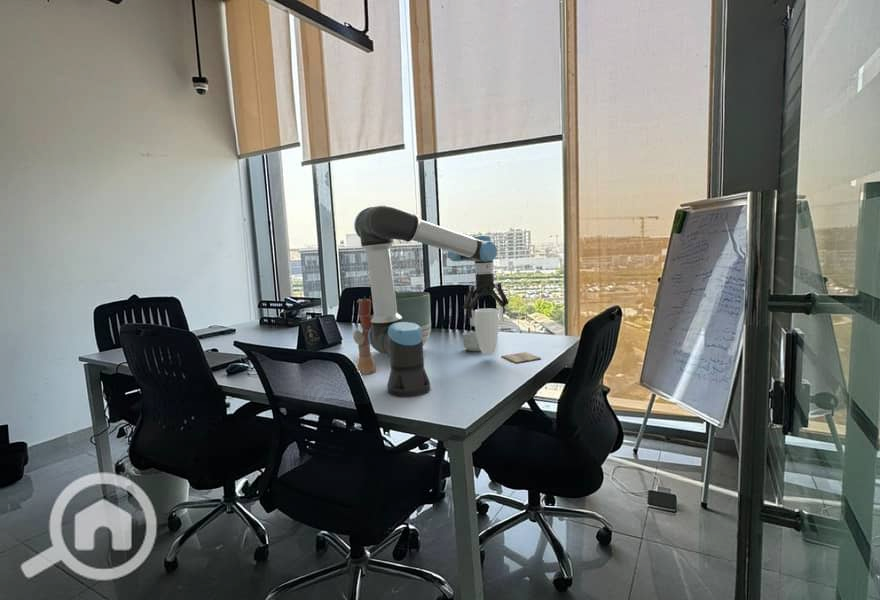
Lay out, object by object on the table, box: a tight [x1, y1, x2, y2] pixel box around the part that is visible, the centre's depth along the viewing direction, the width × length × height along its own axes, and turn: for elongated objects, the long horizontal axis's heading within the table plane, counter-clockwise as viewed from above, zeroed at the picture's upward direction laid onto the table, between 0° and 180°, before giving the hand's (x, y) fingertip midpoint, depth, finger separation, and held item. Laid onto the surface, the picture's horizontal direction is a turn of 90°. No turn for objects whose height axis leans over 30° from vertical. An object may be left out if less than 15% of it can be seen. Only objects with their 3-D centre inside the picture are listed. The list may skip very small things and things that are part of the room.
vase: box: [352, 298, 377, 376], centre depth 194 cm, size 10×7×30 cm
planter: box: [372, 291, 432, 347], centre depth 225 cm, size 27×27×27 cm
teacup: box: [462, 331, 481, 352], centre depth 221 cm, size 14×11×8 cm
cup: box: [474, 307, 499, 356], centre depth 203 cm, size 10×10×22 cm
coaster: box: [501, 351, 542, 364], centre depth 204 cm, size 12×12×1 cm
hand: (487, 323), depth 202 cm, fingers open, 13 cm apart
